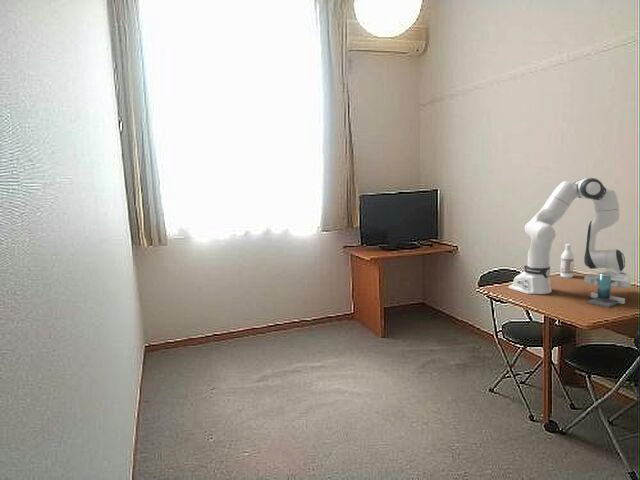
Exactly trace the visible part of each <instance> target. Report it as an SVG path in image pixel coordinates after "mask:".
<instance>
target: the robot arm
mask: <svg viewBox="0 0 640 480" xmlns="http://www.w3.org/2000/svg"><path fill="white" fill-rule="evenodd" d="M617 195H618V194H617V193H616V191H615V190H613V189H610V188H606V187H605V185H603V183H602V182H601V180H599V178H595V177H585V178H581V179H578V180H577V181H574V182H572V181H569V180H564V181H562V182H560V183H559V184H558V185H557V186H556V187H555V189H554V190H553V191H552V193H551V194H550V195H549V196H548V198H547V200H546V201H545V203H544V205H542V207H541V208H540V209H539V210H538V212H537V213H536V214H534V216H533V217H532V218H531V219H530V220H529V221H528V222H527V223H525V225H524V232H525V235H526V236H527V238H529V239H530V246H529V249H528V251H527V264H526V265H524V266H523V267H522V269H523V271H522V272H520V273H519V274H517V275H516V276H515V277H514V278H513V282H512V283H511V284H509V286H508V289H510V290H513V291H517V292H521V293H524V294H528V295H546V294H547V295H548V294H550V293H552V291H553V290H552V288H551V282H550V275H551V266H550V256H551V255H550V254H551V249H552V245H553V241H554V239H555V238H556V230H555V228H553V226H554V225H555V224H556V223H557V222H558V221H560V220H561V219H562V218H563V217H564V215H565V213H566V212H567V211H568V209H569V208H570V206H571V205H572V203H573V202H574V201H575V199H576V198H579V199H585V200H592V202H593V205H594V213H595V214H594V217H593V219H592V220H590V222H589V223H588V228H587V234H586V243H585V245H586V246H585V252H584V257H583V263H584V265H585V266H586V267H587V268H589V269H590V270H593V269H594V270H595V269H605V270H604V271H602V272H601V273H610V274H611V283H610V287H611V288H616V287H617V288H625V289H628V288H630V287H631V277H630V274H629V273H625V272H624V268H625V266H626V258H625V255H624V253H623V252H622V251H621V250H619V249H596V242H597V235H598V233H599V232H601V231H603V230H605V229H607V228H609V227H612V226H613V225H615V224H616V223H617V222H618V221H619V219H620V205H619V199H618V197H617ZM598 277H599V275H598V274H593V273H589V274H587V275H585V276H584V278H583V279H584V283H585V284H588V285H589V284H590V285H594V286H598Z"/></svg>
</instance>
